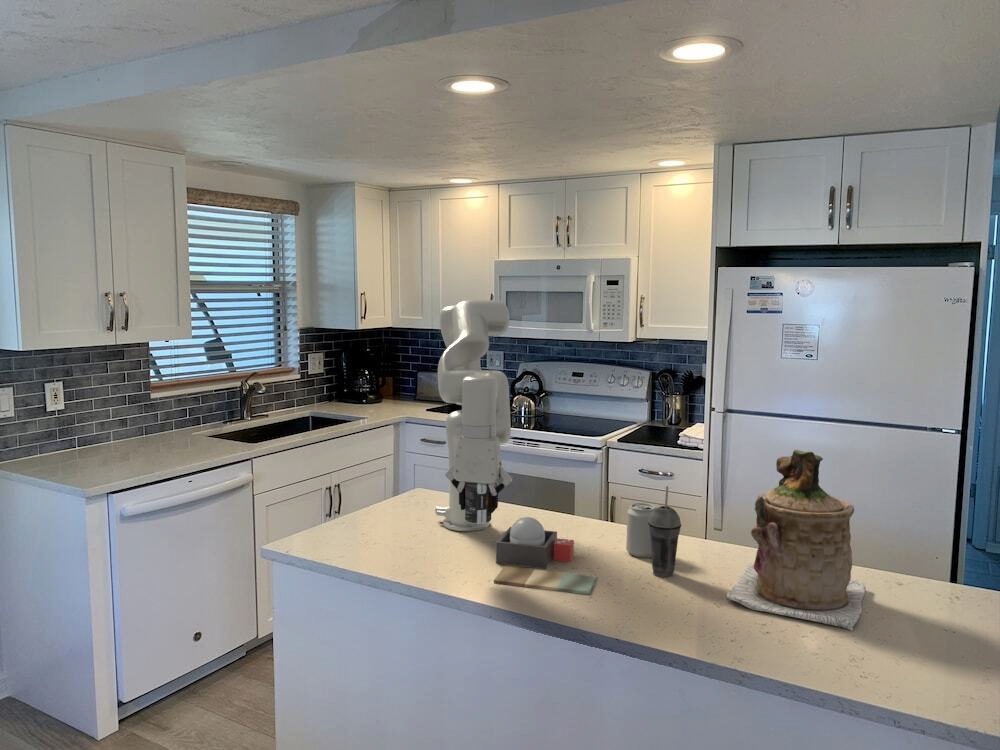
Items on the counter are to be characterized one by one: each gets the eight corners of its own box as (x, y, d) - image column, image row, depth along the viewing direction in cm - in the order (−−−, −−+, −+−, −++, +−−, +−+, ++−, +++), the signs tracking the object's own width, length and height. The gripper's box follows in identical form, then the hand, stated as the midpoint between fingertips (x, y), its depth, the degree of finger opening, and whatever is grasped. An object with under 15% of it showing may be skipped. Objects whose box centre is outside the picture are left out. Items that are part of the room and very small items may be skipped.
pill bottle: (491, 524, 163) (491, 475, 161) (464, 524, 163) (464, 474, 161) (491, 516, 169) (492, 468, 167) (465, 515, 169) (465, 467, 167)
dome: (505, 555, 173) (505, 521, 172) (514, 544, 181) (515, 511, 180) (540, 559, 171) (540, 524, 170) (548, 548, 179) (548, 514, 178)
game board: (493, 582, 160) (493, 580, 160) (505, 568, 169) (505, 565, 169) (589, 594, 154) (589, 591, 154) (596, 578, 163) (596, 576, 163)
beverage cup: (642, 576, 165) (645, 489, 162) (651, 565, 171) (654, 481, 169) (674, 582, 161) (677, 493, 159) (683, 571, 168) (686, 485, 166)
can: (648, 561, 174) (650, 511, 173) (620, 554, 179) (621, 506, 177) (662, 552, 180) (663, 504, 179) (634, 546, 185) (636, 499, 183)
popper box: (495, 563, 172) (496, 542, 172) (509, 546, 184) (510, 526, 183) (565, 571, 168) (565, 549, 167) (575, 553, 179) (575, 533, 178)
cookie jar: (867, 590, 158) (877, 443, 155) (857, 635, 137) (867, 467, 134) (749, 567, 171) (755, 432, 167) (722, 606, 149) (729, 451, 146)
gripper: (436, 431, 162) (436, 510, 164) (511, 437, 157) (510, 519, 159) (448, 425, 169) (448, 501, 171) (520, 430, 164) (519, 508, 166)
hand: (478, 508), depth 165 cm, fingers closed on pill bottle, 6 cm apart
